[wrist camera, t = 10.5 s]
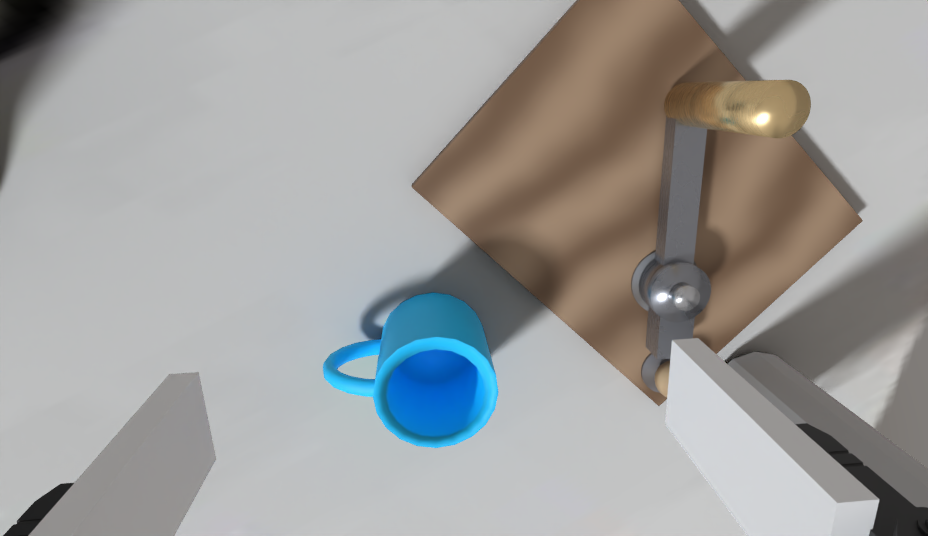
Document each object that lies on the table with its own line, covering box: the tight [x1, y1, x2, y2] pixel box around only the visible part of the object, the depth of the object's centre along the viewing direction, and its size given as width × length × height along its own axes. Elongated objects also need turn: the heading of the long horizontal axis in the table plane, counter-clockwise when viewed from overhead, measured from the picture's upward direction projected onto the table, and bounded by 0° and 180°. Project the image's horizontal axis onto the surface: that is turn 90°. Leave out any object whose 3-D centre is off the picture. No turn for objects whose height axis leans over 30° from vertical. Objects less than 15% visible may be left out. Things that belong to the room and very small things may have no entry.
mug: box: [323, 293, 498, 448], centre depth 40 cm, size 12×8×8 cm
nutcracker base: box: [412, 0, 863, 406], centre depth 40 cm, size 27×21×4 cm
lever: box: [639, 80, 811, 359], centre depth 36 cm, size 20×4×11 cm, turn 2°
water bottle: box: [728, 352, 928, 508], centre depth 36 cm, size 9×8×25 cm
